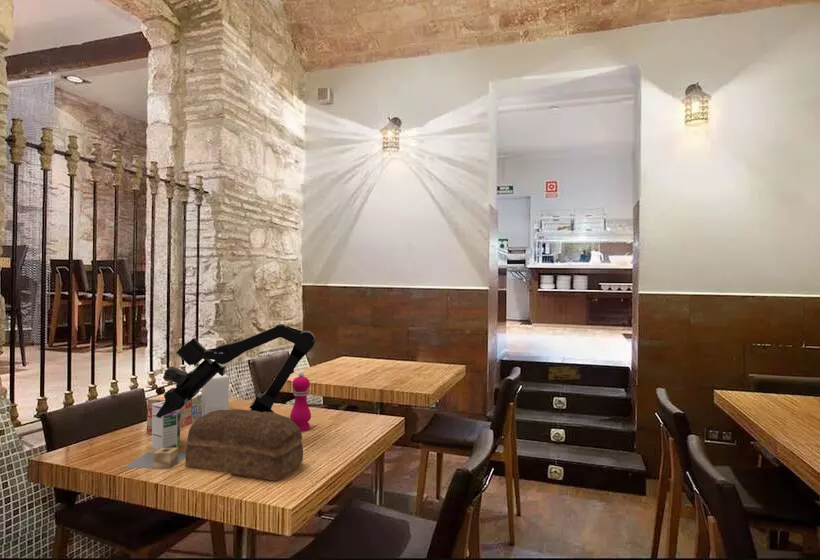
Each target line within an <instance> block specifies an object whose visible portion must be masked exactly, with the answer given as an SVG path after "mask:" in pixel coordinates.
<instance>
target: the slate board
mask: <svg viewBox="0 0 820 560" xmlns="http://www.w3.org/2000/svg"><path fill="white" fill-rule="evenodd" d="M153 453H154V452H146V453H144V454H142V455H141V456H139V457H137V458H136V459H134V460H132V461H131V462H129V463H127V464H126V465H124V466H123V467H122V469H154V468H153ZM185 456H186V452H178V463H176V464H175V465H174V466H172V467H171V468H157V469H159V470H160V469H161V470H162V469H167V470H168V469H169V470H171V469H173V468H174V467H175V466H176V465H178V464H179V463H180V462H182V461H183V460H184V459H186V457H185Z"/></svg>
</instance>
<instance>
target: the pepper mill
mask: <svg viewBox="0 0 820 560" xmlns="http://www.w3.org/2000/svg"><path fill="white" fill-rule="evenodd" d="M310 385H311V384H310V380H309V378H308V377H306V376H305V374H304V372H302V371H300V372H299V373H298V376H297V377H295V378H294V379H293V381H292V388H293V389H294V390H293V396H294V403H293V404H294V405H292V406H293V407H292V408H291V412H290V416H289V418H290V419H291V420H292V421H293V422H294V423H295V424H296V425H297V426H298V427H299V428H300V431H301V432H306V431H308V430H309V429H310V420H311V418H312V413H311V409H310V408H309V406H308V401H307V400H308V399H307V398H308V397H307V396H308V395H309V390H308V389H309V387H310ZM307 429H308V430H307ZM305 430H306V431H305Z"/></svg>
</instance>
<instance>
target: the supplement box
mask: <svg viewBox="0 0 820 560" xmlns="http://www.w3.org/2000/svg"><path fill="white" fill-rule="evenodd" d="M229 384H230V376H228V374H226V373H225V374H224V375H223V376H221V375H220V374H219V373H217V374H216V375H215V376H214V377H213V378H212V379H211V380H210V381H209V382H207V384H206V385H204V386H203V387H202V388H201V395H202V416H204V415H206V414H208V413H209V412H212V411H216V410H229V401H230V400H229V397H230V396H229V395H230V390H229V389H230V385H229Z"/></svg>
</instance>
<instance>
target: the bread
mask: <svg viewBox="0 0 820 560" xmlns="http://www.w3.org/2000/svg"><path fill="white" fill-rule="evenodd" d="M187 434H188V435H187V438H186V439H187V445H186V449H185V453H186V456H185V467H188V468H195V469H200V470H201V469H202V470H207V471H212V472H213V471H214V472H222V473H227V474H230V475H234V476H239V477H248V478H256V479H262V480H264V479H265V480H268V481H279V480H281V479H283V478H285V477H286V476H288V475H289V474H292V472H294V471H296V470H297V468H299V467H300V465H301V463H302V462H303V461H304V447H303V443H302V440H303V434H302V431H300V428H299V427H298V426H297V425H296V424H295V423H294V422H293V421H292V420H291V419H290V417H288V416H286V415H285V416H284V415H281V414H278V413H276V412H275V413H274V412H259V411H254V410H251V409H242V408H240V409H239V408H238V409H237V408H234V409H232V408H231V409H228V410H216V411H212V412H209V413H208V414H206V415H204V416H203V415H202V417H200V418H198V419H197V420H196V421H195V422H193V423H192V425H190V428H189V430H188V433H187Z"/></svg>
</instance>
